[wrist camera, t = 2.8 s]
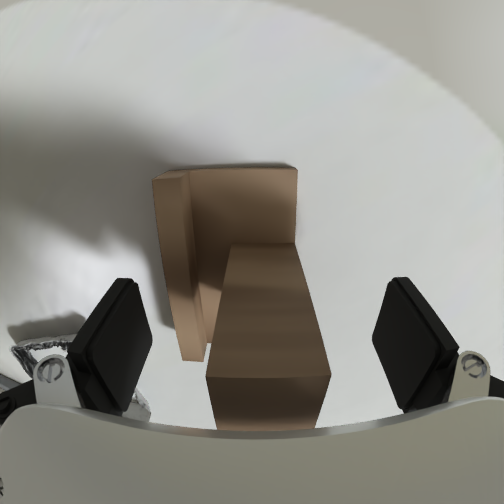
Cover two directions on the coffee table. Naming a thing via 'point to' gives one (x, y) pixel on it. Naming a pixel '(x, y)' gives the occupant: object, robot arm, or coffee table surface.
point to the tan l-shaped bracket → (242, 294)
